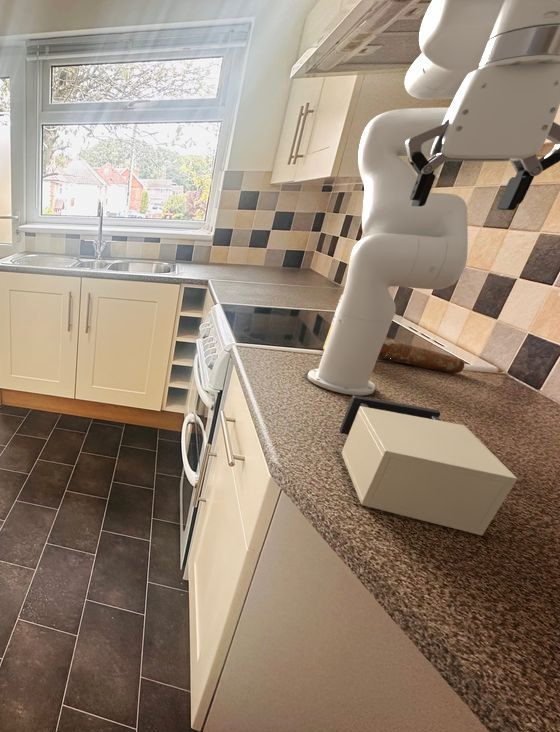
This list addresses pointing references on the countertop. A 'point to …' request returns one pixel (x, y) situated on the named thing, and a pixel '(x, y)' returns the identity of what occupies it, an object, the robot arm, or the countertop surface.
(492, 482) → the cream box with lid
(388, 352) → the bread
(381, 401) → the black picture frame
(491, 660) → the countertop surface
